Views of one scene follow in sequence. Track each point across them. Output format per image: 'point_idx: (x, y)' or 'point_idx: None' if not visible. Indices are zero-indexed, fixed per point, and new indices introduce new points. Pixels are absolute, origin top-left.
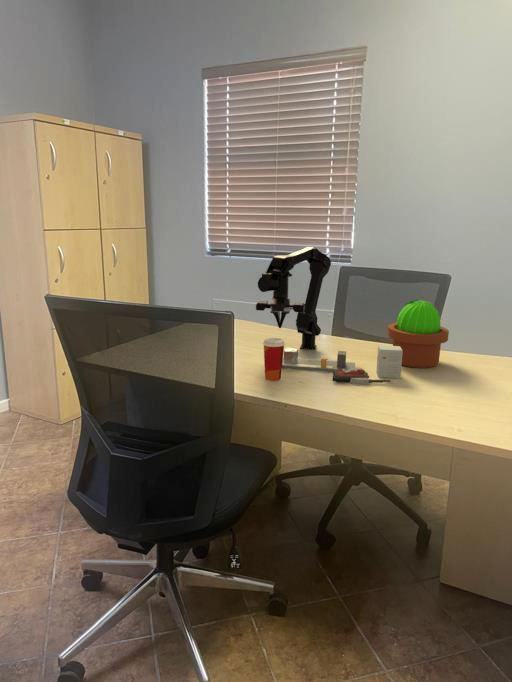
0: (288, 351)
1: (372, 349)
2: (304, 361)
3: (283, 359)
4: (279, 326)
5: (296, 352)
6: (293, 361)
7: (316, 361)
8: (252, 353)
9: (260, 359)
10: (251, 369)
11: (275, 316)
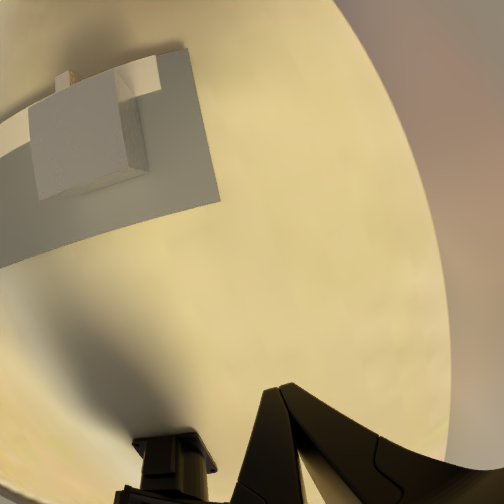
0: (79, 83)
1: (17, 464)
2: (45, 201)
3: (164, 172)
4: (288, 395)
5: (29, 108)
6: (61, 76)
7: (5, 236)
8: (390, 260)
9: (318, 170)
10: (284, 4)
11: (445, 473)
